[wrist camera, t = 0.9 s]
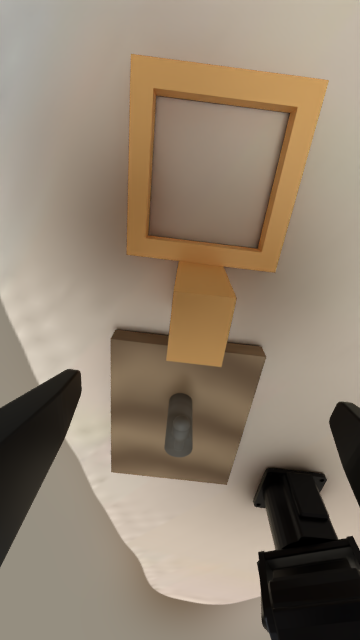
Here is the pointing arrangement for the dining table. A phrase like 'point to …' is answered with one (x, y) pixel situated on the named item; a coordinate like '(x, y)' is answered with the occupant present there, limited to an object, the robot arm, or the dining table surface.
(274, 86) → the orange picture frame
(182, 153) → the dining table surface
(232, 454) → the hook plate
